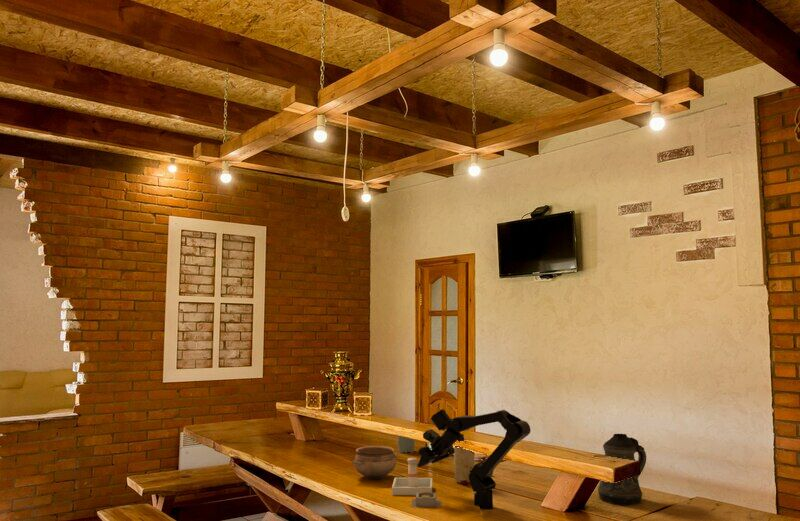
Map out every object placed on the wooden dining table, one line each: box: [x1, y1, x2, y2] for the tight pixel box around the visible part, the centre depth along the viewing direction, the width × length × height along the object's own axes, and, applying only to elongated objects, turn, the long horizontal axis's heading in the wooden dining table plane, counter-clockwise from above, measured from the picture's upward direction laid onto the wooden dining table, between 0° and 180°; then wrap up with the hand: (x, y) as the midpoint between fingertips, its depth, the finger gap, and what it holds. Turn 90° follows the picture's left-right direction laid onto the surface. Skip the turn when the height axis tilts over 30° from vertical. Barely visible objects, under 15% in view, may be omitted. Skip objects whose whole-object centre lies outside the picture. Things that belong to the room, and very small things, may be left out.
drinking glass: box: [397, 435, 416, 453], centre depth 337 cm, size 10×10×12 cm
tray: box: [391, 477, 433, 496], centre depth 257 cm, size 16×16×4 cm
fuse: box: [406, 457, 419, 487], centre depth 257 cm, size 4×4×12 cm
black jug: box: [597, 433, 647, 506], centre depth 247 cm, size 16×19×25 cm
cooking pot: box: [351, 445, 398, 480], centre depth 281 cm, size 25×19×12 cm
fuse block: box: [410, 491, 442, 509], centre depth 238 cm, size 11×10×5 cm
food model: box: [453, 436, 476, 485], centre depth 271 cm, size 10×7×20 cm
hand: (425, 464), depth 254 cm, fingers open, 9 cm apart
